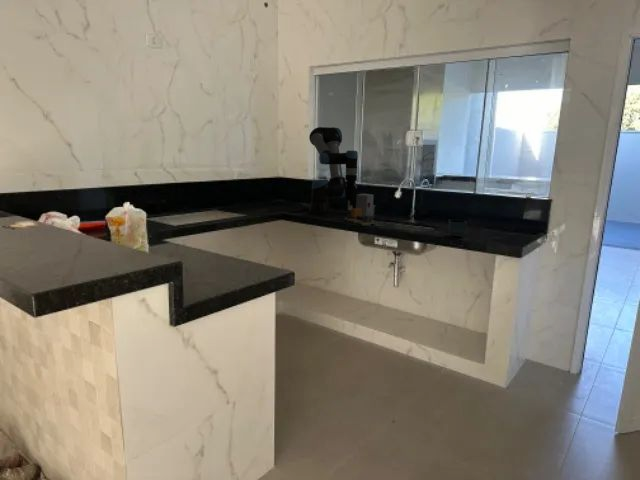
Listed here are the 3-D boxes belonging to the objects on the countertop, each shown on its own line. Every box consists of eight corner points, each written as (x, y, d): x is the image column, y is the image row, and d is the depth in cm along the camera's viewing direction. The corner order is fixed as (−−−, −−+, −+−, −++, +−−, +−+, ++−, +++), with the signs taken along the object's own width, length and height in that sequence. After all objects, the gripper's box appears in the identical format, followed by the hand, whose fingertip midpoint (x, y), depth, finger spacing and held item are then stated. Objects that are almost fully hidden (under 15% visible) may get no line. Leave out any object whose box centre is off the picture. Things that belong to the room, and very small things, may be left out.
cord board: (344, 220, 297) (344, 212, 296) (359, 218, 303) (359, 211, 302) (363, 225, 280) (363, 217, 279) (378, 224, 286) (378, 216, 285)
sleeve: (350, 217, 296) (351, 208, 294) (358, 216, 299) (358, 208, 297) (354, 218, 292) (354, 209, 291) (361, 217, 296) (362, 208, 294)
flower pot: (446, 234, 261) (448, 219, 259) (462, 235, 260) (464, 219, 258) (449, 237, 252) (450, 222, 250) (465, 238, 251) (467, 222, 249)
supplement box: (366, 217, 309) (367, 195, 305) (355, 215, 314) (356, 194, 310) (373, 215, 316) (374, 194, 312) (362, 214, 321) (363, 193, 317)
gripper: (340, 173, 299) (339, 208, 304) (352, 175, 288) (351, 211, 294) (350, 173, 303) (348, 208, 308) (361, 175, 292) (360, 211, 297)
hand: (349, 209), depth 301 cm, fingers closed
